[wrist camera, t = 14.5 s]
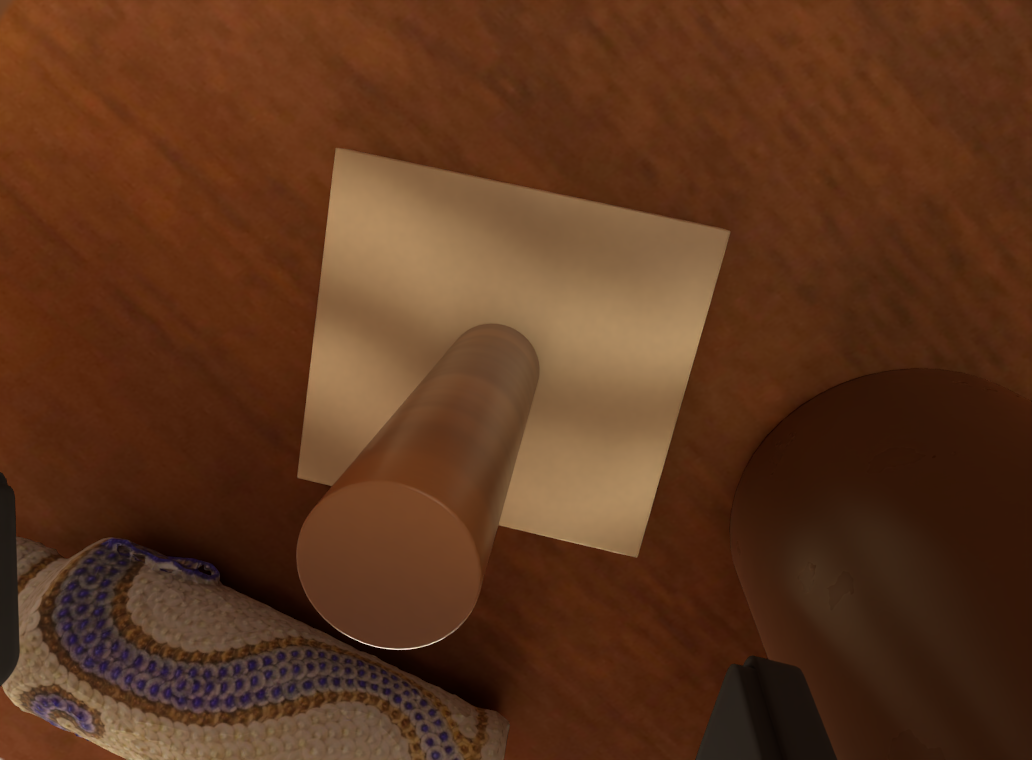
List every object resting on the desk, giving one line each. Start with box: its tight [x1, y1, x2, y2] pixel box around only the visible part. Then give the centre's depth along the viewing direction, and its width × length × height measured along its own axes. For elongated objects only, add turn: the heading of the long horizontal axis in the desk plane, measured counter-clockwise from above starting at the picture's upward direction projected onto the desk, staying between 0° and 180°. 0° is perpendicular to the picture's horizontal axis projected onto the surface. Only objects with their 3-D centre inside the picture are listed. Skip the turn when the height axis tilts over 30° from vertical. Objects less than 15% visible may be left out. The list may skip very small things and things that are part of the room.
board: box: [297, 148, 731, 557], centre depth 25 cm, size 12×13×1 cm
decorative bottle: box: [2, 537, 510, 760], centre depth 26 cm, size 26×8×7 cm, turn 64°
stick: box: [296, 324, 540, 650], centre depth 18 cm, size 3×3×13 cm
